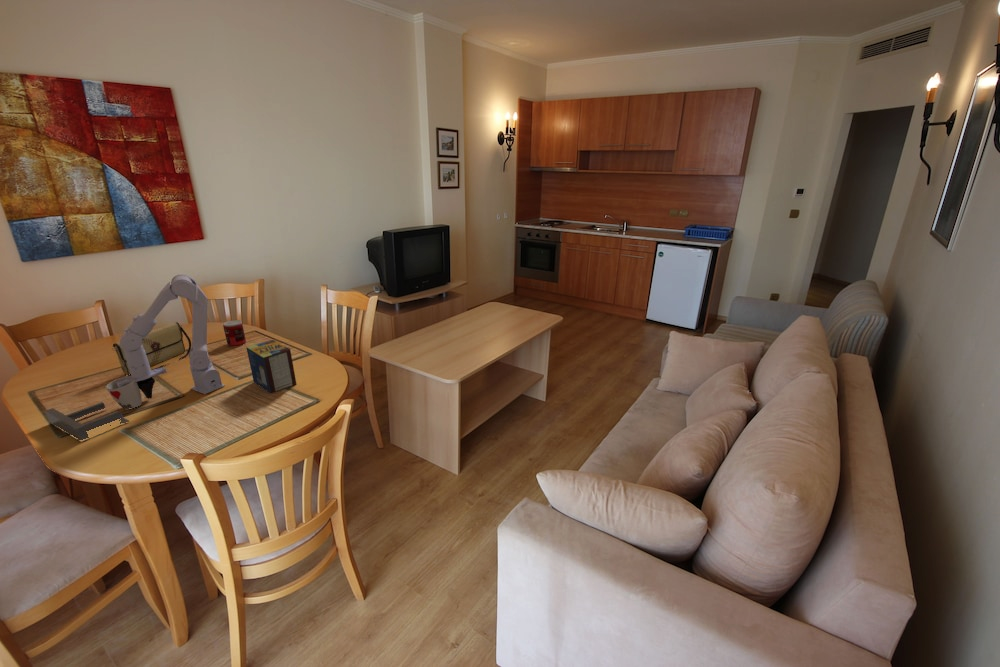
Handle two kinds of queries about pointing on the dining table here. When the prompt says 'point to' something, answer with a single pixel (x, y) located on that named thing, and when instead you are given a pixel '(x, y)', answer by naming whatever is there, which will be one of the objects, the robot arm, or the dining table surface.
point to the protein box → (271, 365)
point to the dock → (69, 420)
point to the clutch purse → (158, 346)
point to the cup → (125, 393)
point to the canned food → (234, 333)
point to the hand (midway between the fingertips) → (149, 397)
